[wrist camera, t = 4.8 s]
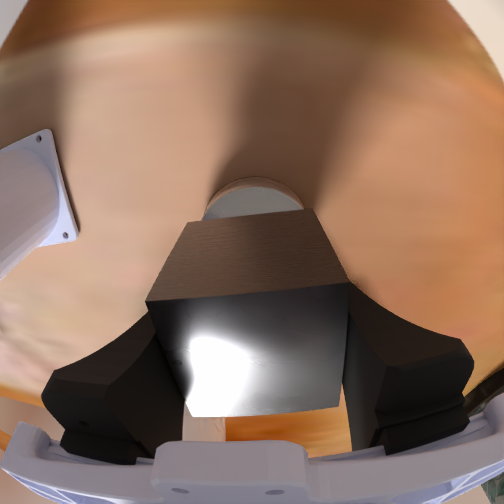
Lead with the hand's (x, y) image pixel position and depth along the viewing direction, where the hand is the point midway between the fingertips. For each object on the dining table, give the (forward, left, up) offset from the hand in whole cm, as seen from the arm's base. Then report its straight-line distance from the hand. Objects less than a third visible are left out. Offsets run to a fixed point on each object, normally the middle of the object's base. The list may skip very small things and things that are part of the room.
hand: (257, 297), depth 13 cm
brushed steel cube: (0, 0, -2) cm, 2 cm away
